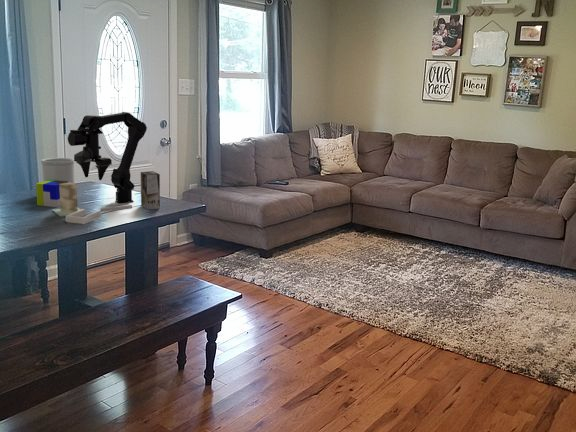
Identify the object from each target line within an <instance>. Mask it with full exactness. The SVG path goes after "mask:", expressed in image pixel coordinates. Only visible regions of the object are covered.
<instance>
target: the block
mask: <svg viewBox="0 0 576 432" xmlns="http://www.w3.org/2000/svg"><path fill="white" fill-rule="evenodd" d="M74 183H75V182H74ZM74 183H70V182H68V183H62V184H59V189H60V206H59V207H60V208H59V209H61V211H63V212H67V213H70V212H74V211H78V208H79V207H78V188H77V187H78V186H77V183H75V184H74Z"/></svg>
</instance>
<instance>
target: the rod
mask: <svg viewBox="0 0 576 432" xmlns="http://www.w3.org/2000/svg"><path fill="white" fill-rule="evenodd" d="M132 208H133V204H126V205H125V204H124V205H116V206H115V205H114V206H104V207H100V211H101V212H108V211H110V212H111V211H116V210H117V211H118V210H127V209H132Z"/></svg>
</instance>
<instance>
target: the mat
mask: <svg viewBox="0 0 576 432" xmlns="http://www.w3.org/2000/svg"><path fill="white" fill-rule="evenodd" d="M82 209H83V208H81V207H78V211H79V210H82ZM51 210H52V212H53V213H55V214H56V215H58V216H59V217H65V216H67V215H69V214H72V213H74V212H77V211H74V212H70V213H67V212H63V211H61V209H60V208H54V209H51Z"/></svg>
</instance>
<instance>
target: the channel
mask: <svg viewBox="0 0 576 432" xmlns="http://www.w3.org/2000/svg"><path fill="white" fill-rule="evenodd" d="M81 209H82V210H79V211H77V212H74V213H72V214H69V215H67V216H64V217H65V222H66V223H72V224H80V225H81V224H83V225H85V224H87V223H89V222H92V221H94V220H96V219H98V218H101V217H102V216H101V215H102V213H101V212H102V211H101V210H96V211H94V212H92V213H89V214H87V212H86V211H87V210H86V208H81Z"/></svg>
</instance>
